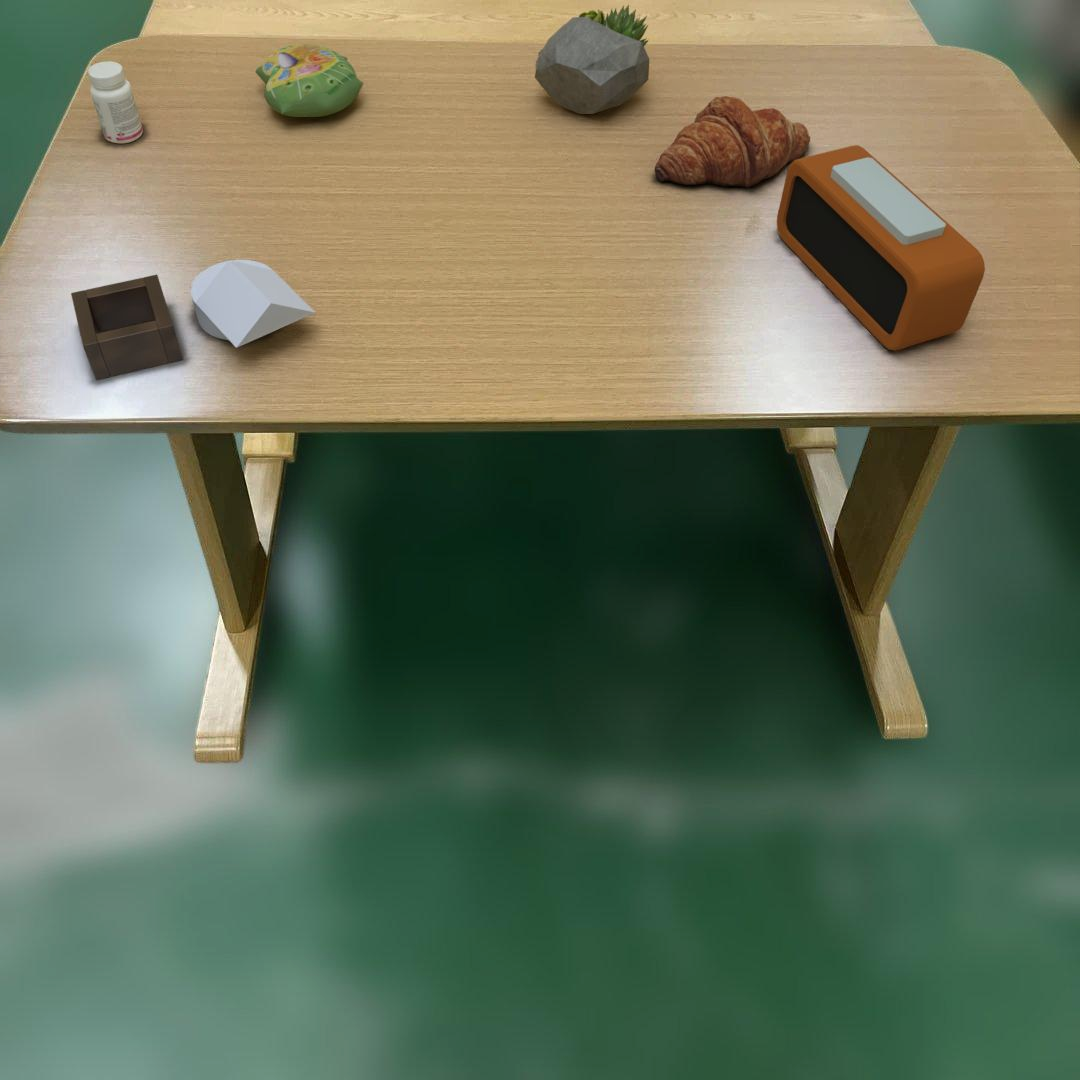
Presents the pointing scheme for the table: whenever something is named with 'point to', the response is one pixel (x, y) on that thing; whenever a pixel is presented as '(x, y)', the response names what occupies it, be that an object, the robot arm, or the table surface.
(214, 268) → the wedge on round base
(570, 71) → the potted plant
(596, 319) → the table surface
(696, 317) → the table surface
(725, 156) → the pastry
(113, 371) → the socket
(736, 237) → the table surface
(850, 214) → the alarm clock
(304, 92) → the educational model
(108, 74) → the pill bottle
